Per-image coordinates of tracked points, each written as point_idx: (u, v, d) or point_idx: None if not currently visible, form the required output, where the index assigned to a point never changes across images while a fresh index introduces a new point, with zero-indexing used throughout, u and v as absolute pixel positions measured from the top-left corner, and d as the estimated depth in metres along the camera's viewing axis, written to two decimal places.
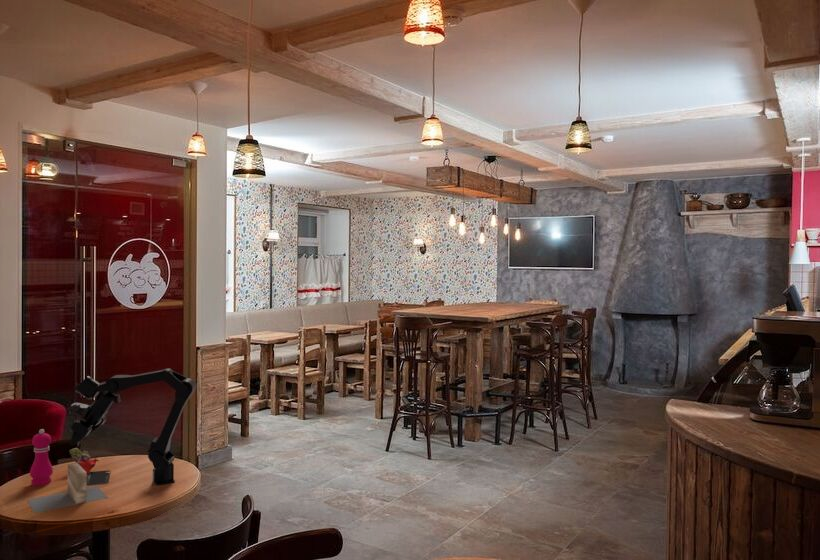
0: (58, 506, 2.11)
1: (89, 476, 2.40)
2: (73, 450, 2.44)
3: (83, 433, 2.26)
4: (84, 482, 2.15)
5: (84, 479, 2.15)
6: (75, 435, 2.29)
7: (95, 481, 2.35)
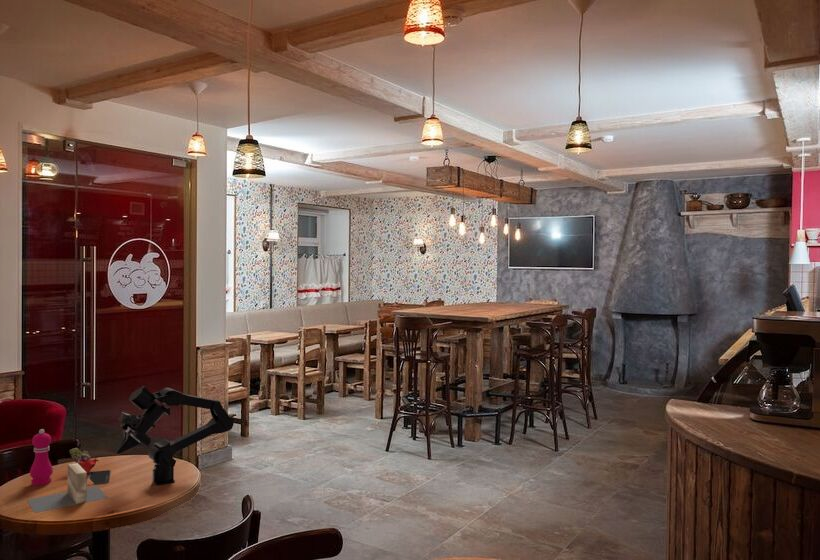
0: (58, 506, 2.11)
1: (89, 476, 2.40)
2: (73, 450, 2.44)
3: (147, 444, 2.24)
4: (84, 482, 2.15)
5: (84, 479, 2.15)
6: (127, 442, 2.28)
7: (95, 481, 2.35)
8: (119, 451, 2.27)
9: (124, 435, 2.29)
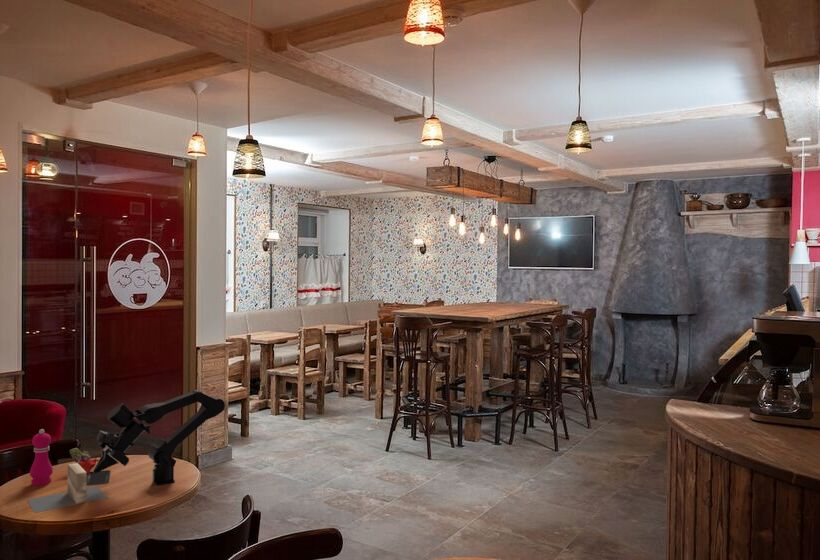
0: (58, 506, 2.11)
1: (89, 476, 2.40)
2: (73, 450, 2.44)
3: (124, 463, 2.20)
4: (84, 482, 2.15)
5: (84, 479, 2.15)
6: (104, 462, 2.23)
7: (95, 481, 2.35)
8: (96, 470, 2.22)
9: (102, 454, 2.25)
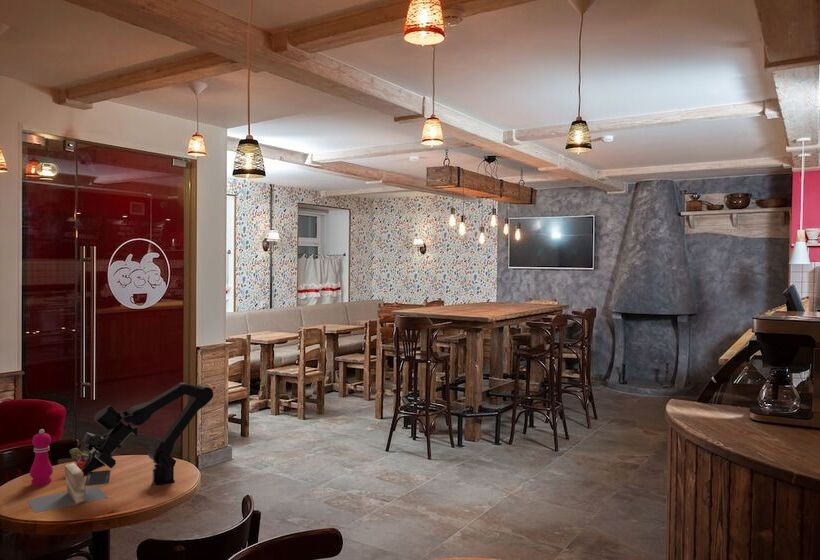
0: (58, 506, 2.11)
1: (89, 476, 2.40)
2: (73, 450, 2.44)
3: (111, 465, 2.17)
4: (82, 482, 2.14)
5: (81, 479, 2.14)
6: (91, 464, 2.20)
7: (95, 481, 2.35)
8: None
9: (88, 456, 2.22)
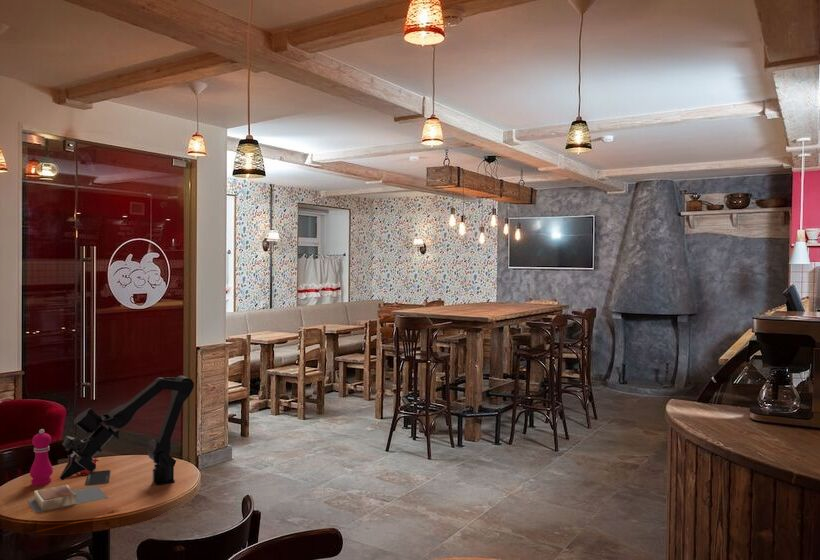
0: None
1: (89, 476, 2.40)
2: None
3: (91, 469, 2.13)
4: (53, 501, 2.09)
5: (50, 501, 2.08)
6: (71, 468, 2.16)
7: (95, 481, 2.35)
8: (62, 477, 2.15)
9: (68, 460, 2.18)
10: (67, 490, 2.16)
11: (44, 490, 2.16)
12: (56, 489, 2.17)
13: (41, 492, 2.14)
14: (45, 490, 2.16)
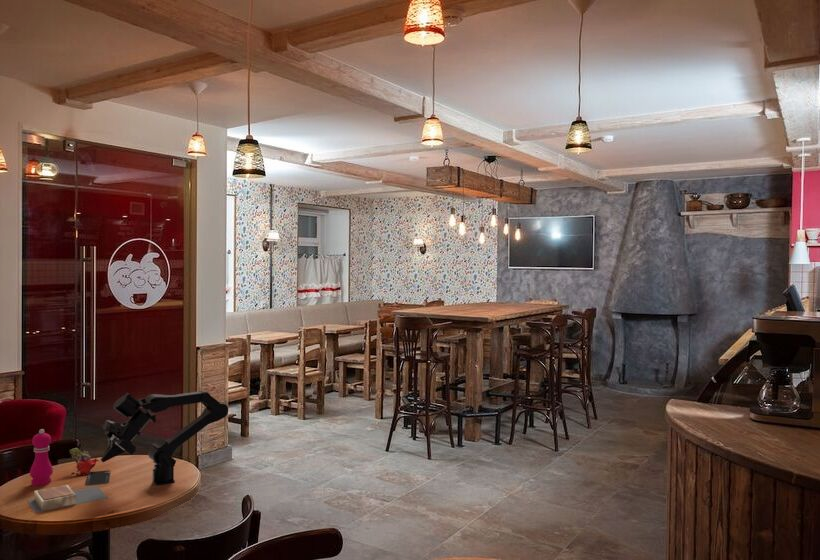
0: None
1: (89, 476, 2.40)
2: (73, 450, 2.44)
3: (131, 452, 2.21)
4: (53, 501, 2.09)
5: (50, 501, 2.08)
6: (111, 451, 2.24)
7: (95, 481, 2.35)
8: (103, 459, 2.24)
9: (109, 443, 2.26)
10: (67, 490, 2.16)
11: (44, 490, 2.16)
12: (56, 489, 2.17)
13: (41, 492, 2.14)
14: (45, 490, 2.16)
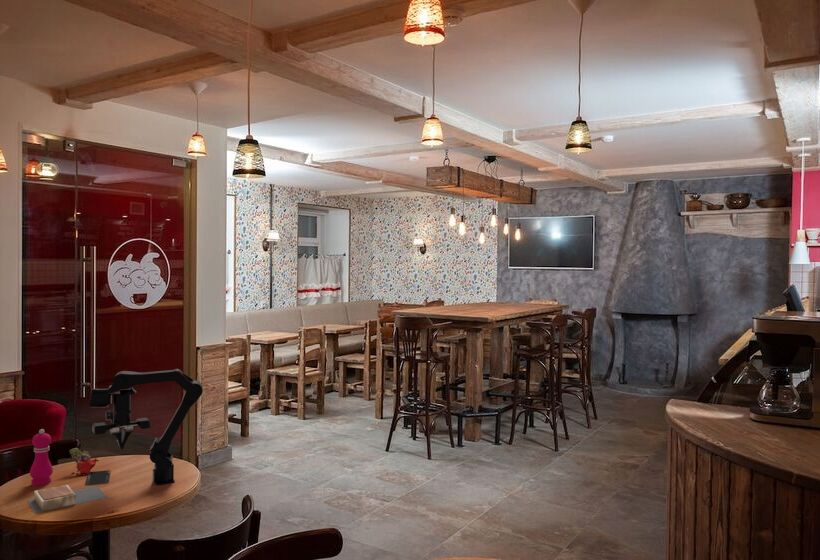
0: None
1: (89, 476, 2.40)
2: (73, 450, 2.44)
3: (94, 432, 2.26)
4: (53, 501, 2.09)
5: (50, 501, 2.08)
6: None
7: (95, 481, 2.35)
8: (119, 447, 2.33)
9: None
10: (67, 490, 2.16)
11: (44, 490, 2.16)
12: (56, 489, 2.17)
13: (41, 492, 2.14)
14: (45, 490, 2.16)
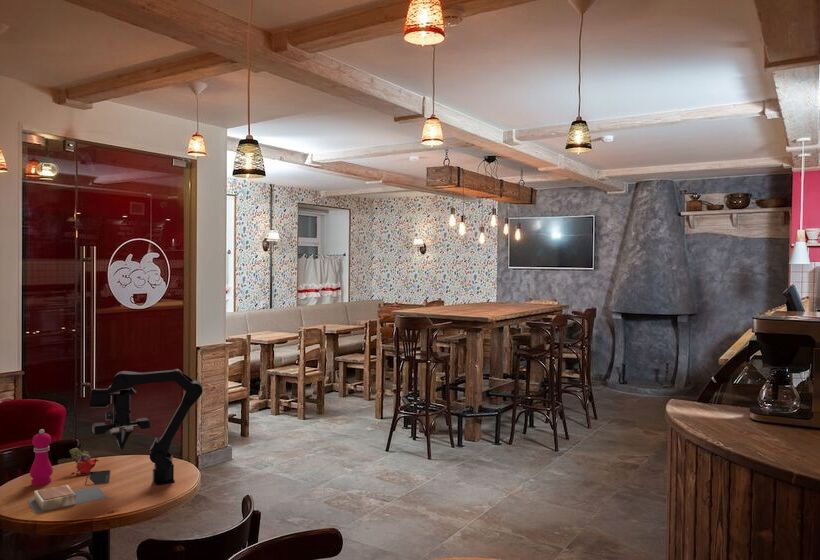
0: None
1: (89, 476, 2.39)
2: (73, 450, 2.44)
3: (94, 432, 2.26)
4: (53, 501, 2.09)
5: (50, 501, 2.08)
6: None
7: (95, 481, 2.35)
8: (119, 447, 2.33)
9: None
10: (67, 490, 2.16)
11: (44, 490, 2.16)
12: (56, 489, 2.17)
13: (41, 492, 2.14)
14: (45, 490, 2.16)
